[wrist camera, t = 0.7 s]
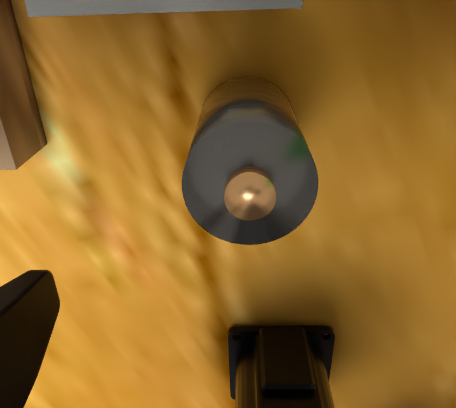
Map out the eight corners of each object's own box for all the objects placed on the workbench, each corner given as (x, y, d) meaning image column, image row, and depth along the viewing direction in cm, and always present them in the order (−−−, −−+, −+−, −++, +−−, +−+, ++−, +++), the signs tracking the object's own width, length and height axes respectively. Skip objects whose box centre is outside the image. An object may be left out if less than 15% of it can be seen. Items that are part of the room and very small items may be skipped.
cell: (291, 166, 20) (316, 256, 13) (202, 168, 20) (184, 257, 14) (295, 75, 18) (328, 127, 11) (196, 77, 18) (172, 131, 11)
